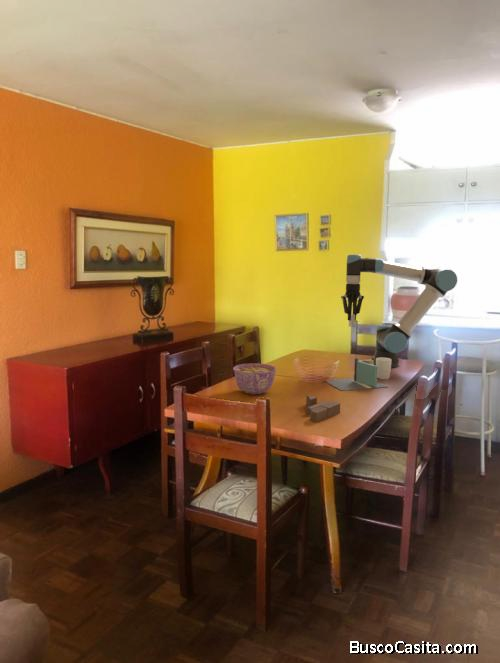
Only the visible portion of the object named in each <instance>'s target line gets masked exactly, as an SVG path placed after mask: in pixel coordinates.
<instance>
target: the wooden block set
mask: <svg viewBox="0 0 500 663" xmlns="http://www.w3.org/2000/svg"><path fill="white" fill-rule="evenodd" d="M305 398H306V399H305V405H306V408H305V409H304V411H305V414H306V415H308V416H310V417H309V418H310V421H311V422H312V423H318V422H320V421H322V420H324V419H328V418H331V417H334V416H336V415H338V414H340V413H341V403H340V402H337V401H333V400H331V401H328V402H327V401H325V400H322V401H320V402H318V396H313V395H309V394H306V396H305Z"/></svg>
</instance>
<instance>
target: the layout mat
mask: <svg viewBox="0 0 500 663" xmlns="http://www.w3.org/2000/svg"><path fill="white" fill-rule="evenodd" d="M331 380H332V381H330V382H327V384H328V385H330V386H332V387H334V388H335V389H337V390H339V391H341V392H345V391H359V390H370V389H382V388H383V389H384V388H385V389H386V388H388V387H389V386H388V385H385V384H384V383H382V382H379V381H377V386H376V387H373V386H370V385H367V384H364V383H361V382H358V381H354V377H349V378H348V377H347V378H337V379H335V378H334V379H331Z"/></svg>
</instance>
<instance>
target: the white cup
mask: <svg viewBox="0 0 500 663" xmlns="http://www.w3.org/2000/svg"><path fill="white" fill-rule="evenodd" d="M391 361H392V359H390V358H384V357H380V358H376V366H378V367H377V379H379V380H389V379H390V377H391V369H392V367H391Z"/></svg>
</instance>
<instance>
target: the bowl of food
mask: <svg viewBox="0 0 500 663" xmlns="http://www.w3.org/2000/svg"><path fill="white" fill-rule="evenodd" d="M232 369H233V373H234V377H235V382H236V385H237V387H238V388H239V390H241V391H243V392H245V393H246V392H247V393H250V394H249V395H253V394H257V395H261V394H264V393H265V392H267V391H269V390H270V389H271V388H272V386H273V384H274V380H275V376H276V372H277V367H276V366H274V365H272V364H266V363H242V364H238V365H234V367H233V368H232ZM247 393H246V394H247Z"/></svg>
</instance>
